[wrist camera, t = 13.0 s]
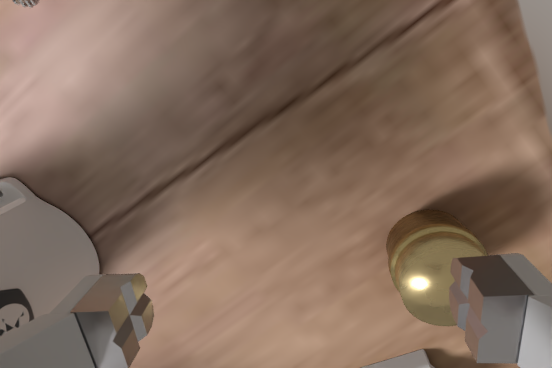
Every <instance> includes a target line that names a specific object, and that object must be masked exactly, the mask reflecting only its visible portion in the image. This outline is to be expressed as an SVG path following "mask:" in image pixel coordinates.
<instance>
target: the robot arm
mask: <svg viewBox="0 0 552 368" xmlns="http://www.w3.org/2000/svg"><path fill="white" fill-rule="evenodd" d="M450 273H451V274H452V276H453V278H454V280H455V282H454V283H453V284H452V285H451V286H450V287H449V302H450V309H451V312H452V315H453V318H454V320H455V322H456V324H457V326H458V327H460V328H461V329H463V330H464V331H465V342H466V344H467V346H468V347H469V349H470V351H471V353H472V355H473V357H474V359H475V361H476V363H518V366H519V367H520V368H552V283H551V282H550V281H549V280H548V279H547V278H546V277H545V276H543V275H542V274H541V273H540V272H539V271H538V270H537V269H536V268H535V267H534V266H533V265H532V264H531V263H530V262H529V261H528V260H527V259H526V258H525V257H524V256H523V255H522V254H519V253H511V254H499V255H490V256H476V257H461V258H453V259H452V262H451V270H450ZM146 288H147V284H146V281H145V278H144V276H143V275H141V274H140V273H135V274H106V275H104V274H101V275H99V261H98V256H97V253H96V250H95V248H94V246H93V244H92V242H91V240H90V239H89V237H88V236H87V234H86V233H85V232H84V230H83V229H82V228H81V227H80V226H79V225H78V224H77V223H76V222H75V221H74V220H73V219H72V218H71V217H69V216H68V215H67V214H66V213H64V212H63V211H61V210H60V209H58V208H56V207H54V206H52V205H50V204H48V203H46V202H44V201H43V200H41V199H39V198H38V197H36V196H35V195H34V194H33V193H32V192H31V191H30V190H29V189H28V188H27V187H26V186H25V185H24V184H23V183H21V182H20V181H19V180H17V179H15V178H12V177H7V178H3V179H0V368H129V367H130V365H131V364H132V362H133V360H134V358H135V356H136V355H137V353H138V351H139V349H140V346H139V343H138V341H140V340H141V339H143V338H144V337H145V336H147V334H148V333H149V331H150V329H151V327H152V322H153V317H154V312H153V305H152V301H151V299H150V298H149V297H148V296H146V295H145V294H144V292H145V290H146Z"/></svg>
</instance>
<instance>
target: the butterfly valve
mask: <svg viewBox="0 0 552 368" xmlns="http://www.w3.org/2000/svg"><path fill="white" fill-rule="evenodd" d="M19 1H20V2H19ZM13 2H14V3H15V4H16V5H20V3H21V4H22V6H23V7H28V6H29V7H30V8H32V7H33V6H36V5H37V4H38V2H39V0H13Z"/></svg>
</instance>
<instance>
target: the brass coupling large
mask: <svg viewBox="0 0 552 368" xmlns="http://www.w3.org/2000/svg"><path fill="white" fill-rule="evenodd" d="M386 248H387V254H388V257H389V258H388V266H389V271H390V274H391V277H392V280H393V283H394V285H395V287H396V288H397V290H398V291H399V292H400V294H401V297H402V300H403V303H404V305H405V306H406V308H407V309H408V311H409V312H410V313H411V314H412V315H413V316H415V317H416V318H418V319H419V320H421V321H423V322H426V323H428V324H432V325H438V326H455V325H457V324H456V322H455V320H454V318H453V315H452V312H451V309H450V302H449V287H450V286H451V285H452V284H453V283H454V282H455V280H454V278H453V276H452V274H451V273H450V270H451V262H452V259H453V258H461V257H476V256H487V253H486V250H485V248H484V247H483V245H482V244H481V243H480V241H479V240H478V239H477V238H476V236H475V235H474V234H473V233H472V232H471V231H470V230H468V229H467V228H465V227H464V226H463V225H462V224H461V223H460V222H459V221H458V220H457V219H456V218H455V217H454V216H452V215H450V214H448V213H446V212H443V211H439V210H421V211H417V212H414V213H411V214H409V215H407V216H405V217H404V218H402V219H401V220H399V221H398V222H397V223H396V224H395V225H394V227H393V228H392V229H391V231H390V233H389V235H388V238H387V244H386Z"/></svg>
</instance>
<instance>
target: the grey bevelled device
mask: <svg viewBox="0 0 552 368" xmlns="http://www.w3.org/2000/svg"><path fill="white" fill-rule="evenodd" d="M362 368H435V367H433V366H432V365H431V364H430V362H429V360H428V357H427V355H426V352H425V351H424V349H421V350H418V351H415V352H411V353H408V354H405V355H402V356H398V357H395V358H392V359H388V360H385V361H382V362H378V363H375V364H372V365H368V366H365V367H362Z"/></svg>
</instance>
